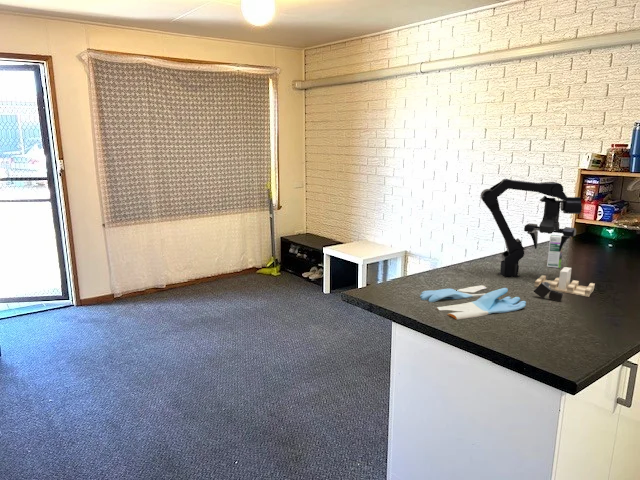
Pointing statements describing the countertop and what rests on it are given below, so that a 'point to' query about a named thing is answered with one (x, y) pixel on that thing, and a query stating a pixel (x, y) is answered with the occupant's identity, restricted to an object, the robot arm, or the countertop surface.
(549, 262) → the syrup box
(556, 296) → the black joined square panels
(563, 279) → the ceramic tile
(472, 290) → the rubber gloves
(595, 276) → the countertop surface
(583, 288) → the slotted rack
